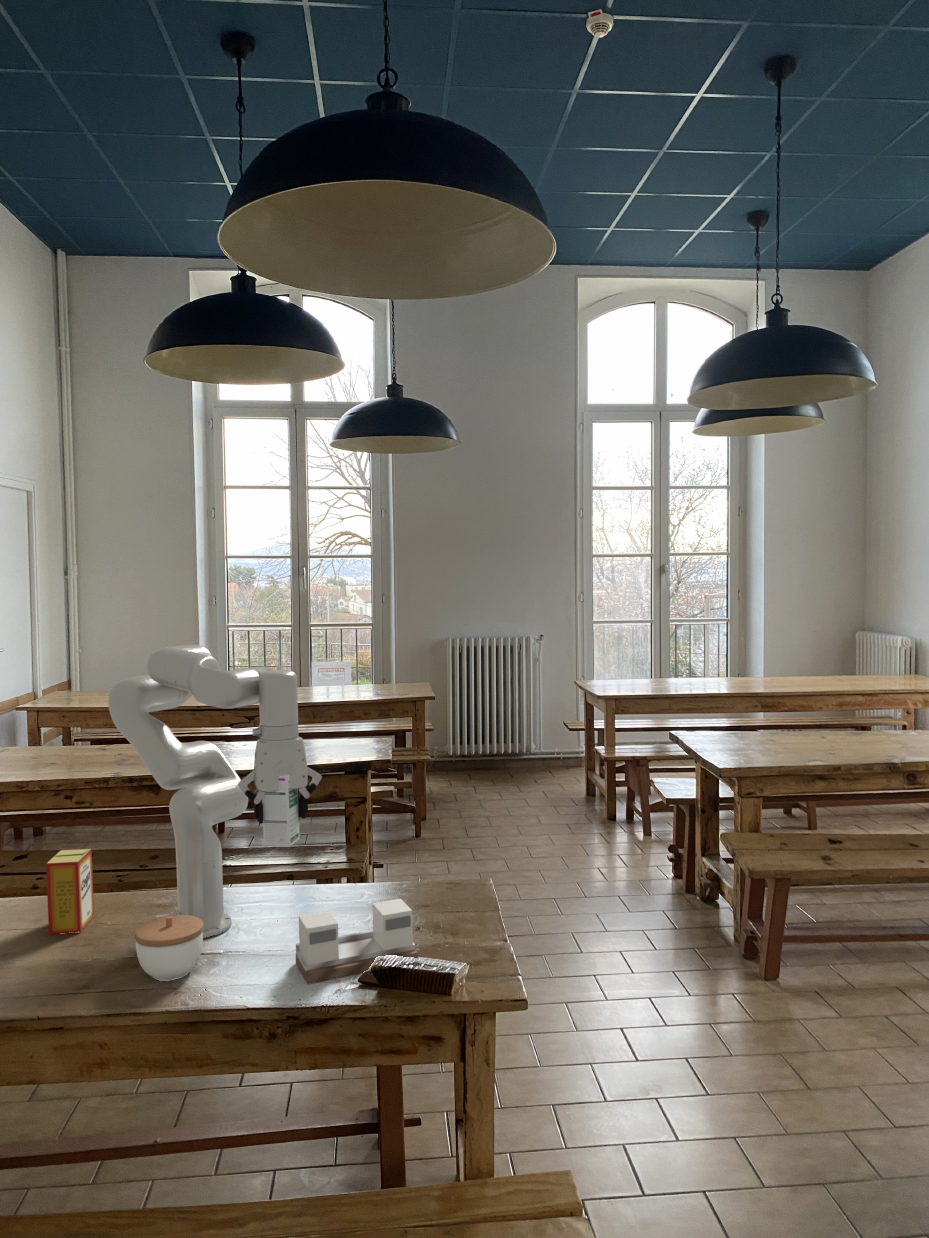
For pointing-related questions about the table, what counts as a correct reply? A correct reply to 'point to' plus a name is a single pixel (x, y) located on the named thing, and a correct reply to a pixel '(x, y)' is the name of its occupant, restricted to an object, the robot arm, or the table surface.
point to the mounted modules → (323, 931)
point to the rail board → (349, 958)
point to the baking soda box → (70, 890)
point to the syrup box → (281, 815)
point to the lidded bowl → (169, 945)
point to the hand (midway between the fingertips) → (281, 818)
